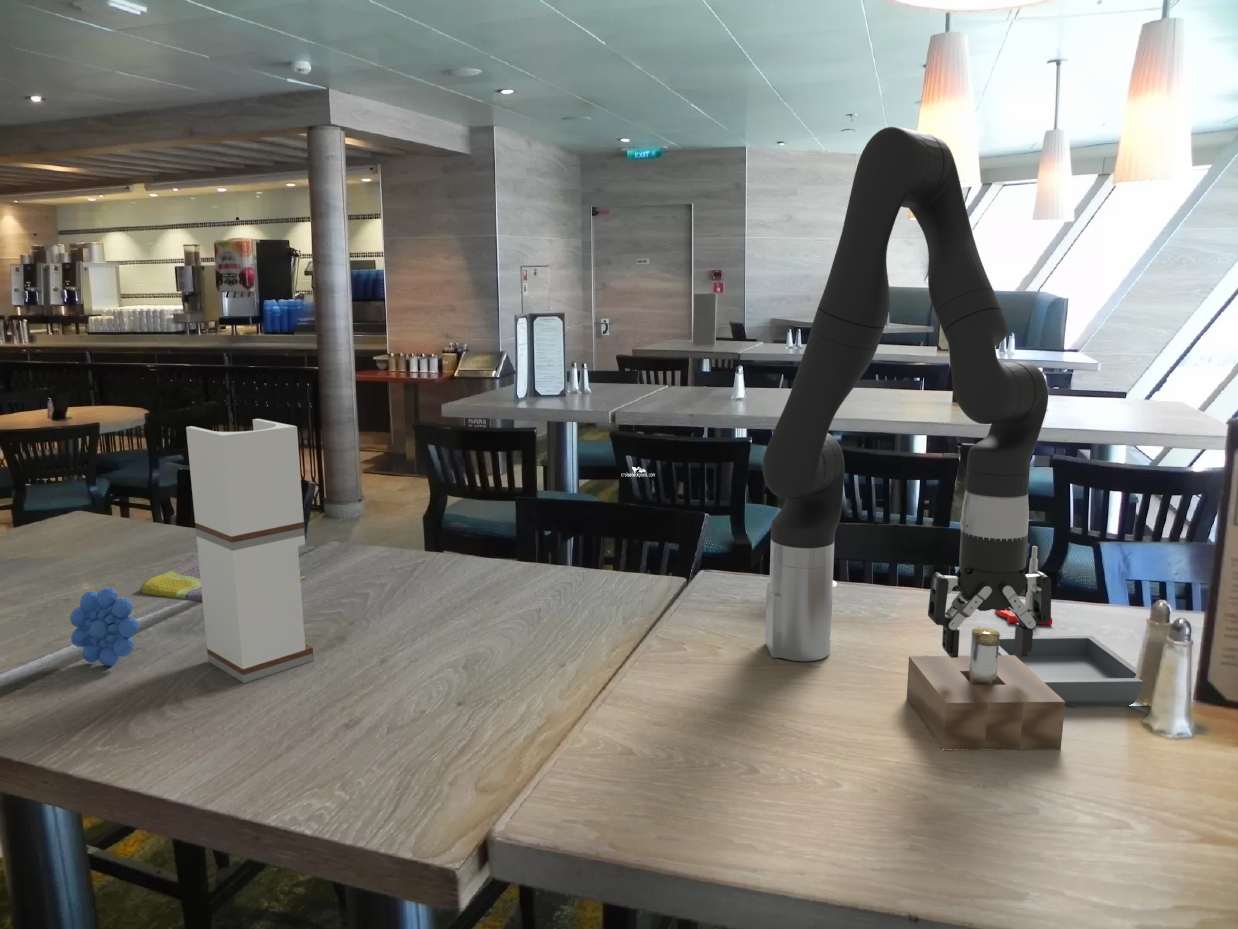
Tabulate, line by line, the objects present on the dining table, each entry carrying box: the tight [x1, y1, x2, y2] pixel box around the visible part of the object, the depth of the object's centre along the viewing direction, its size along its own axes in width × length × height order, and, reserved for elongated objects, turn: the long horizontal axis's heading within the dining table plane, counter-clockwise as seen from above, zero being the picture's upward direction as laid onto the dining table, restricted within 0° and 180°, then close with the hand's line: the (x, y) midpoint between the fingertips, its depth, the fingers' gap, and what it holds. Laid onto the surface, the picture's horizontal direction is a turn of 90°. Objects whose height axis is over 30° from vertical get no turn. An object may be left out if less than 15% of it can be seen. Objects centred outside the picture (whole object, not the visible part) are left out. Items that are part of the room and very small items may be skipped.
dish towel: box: [139, 558, 306, 602], centre depth 174 cm, size 18×24×3 cm
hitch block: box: [906, 655, 1066, 751], centre depth 118 cm, size 14×14×6 cm
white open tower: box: [185, 418, 315, 684], centre depth 136 cm, size 11×11×35 cm
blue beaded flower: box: [69, 587, 140, 667], centre depth 138 cm, size 12×7×12 cm, turn 75°
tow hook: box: [994, 545, 1053, 626], centre depth 155 cm, size 8×13×9 cm
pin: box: [969, 627, 1001, 685], centre depth 118 cm, size 3×3×12 cm
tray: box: [998, 635, 1143, 708], centre depth 130 cm, size 16×16×4 cm
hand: (986, 655), depth 117 cm, fingers open, 8 cm apart
